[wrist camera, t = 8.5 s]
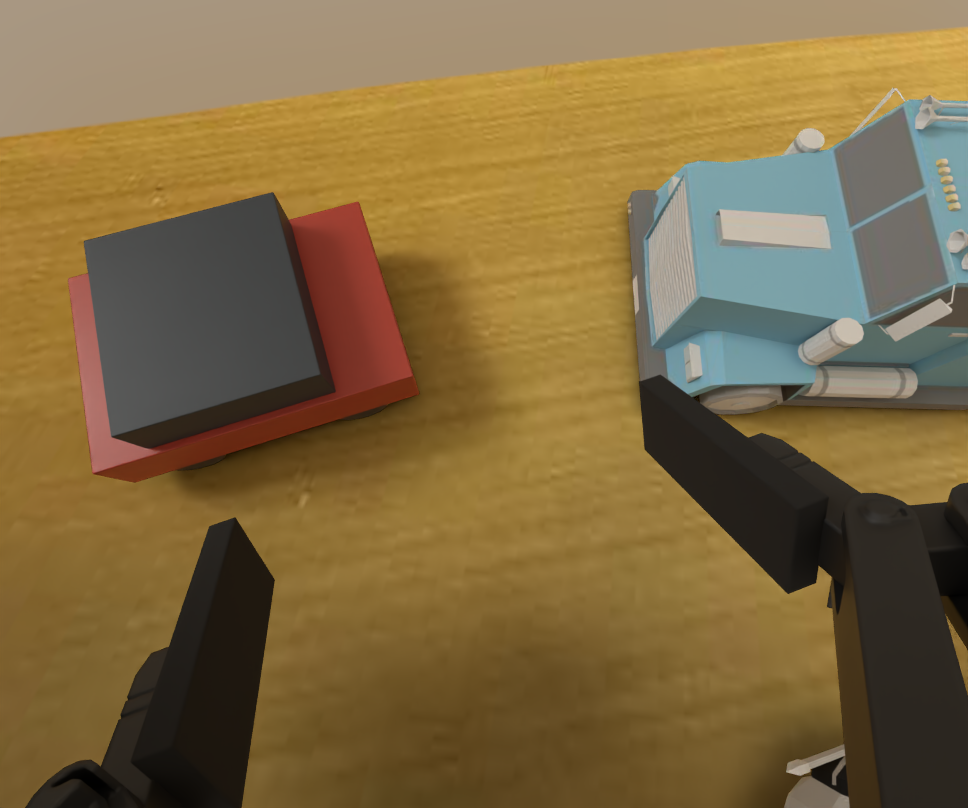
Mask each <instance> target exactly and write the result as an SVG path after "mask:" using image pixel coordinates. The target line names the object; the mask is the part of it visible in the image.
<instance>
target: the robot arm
mask: <svg viewBox="0 0 968 808" xmlns="http://www.w3.org/2000/svg"><path fill="white" fill-rule="evenodd" d="M639 386H640V399H641V411H642V423H643V435H644V447H645V450H646V451H647V452H648V453H649V454H650V455H651V456H652V457H653V458H654V459H655V460H656V461H657V462H658V463H659V464H660V465H661V466H662V467H663V468H664V469H665V470H666V471H667V472H668V473H669V474H670V475H671V476H672V477H673V478H674V479H675V480H676V482H677V483H678V484H679V485H680V486H681V487H682V488H683V489H684V490H685V491H686V492H687V493H688V494H689V495H690V496H691V497H692V498H693V499H694V500H695V501H696V502H697V503H698V504H699V505H700V506H701V507H702V508H703V509H704V510H705V511H706V512H707V513H708V514H709V515H710V516H711V517H712V518H713V519H714V520H715V521H716V522H717V523H718V524H719V525H720V526H721V527H722V528H723V529H724V530H725V531H726V532H727V533H728V534H729V535H730V536H731V537H732V538H733V539H734V540H735V541H736V542H737V543H738V544H739V545H740V546H741V547H742V548H743V549H744V550H745V551H746V552H747V553H748V554H749V555H750V556H751V557H752V558H753V559H754V560H755V561H756V562H757V563H758V564H759V565H760V566H761V567H762V568H763V569H764V570H765V571H766V572H767V573H768V574H769V575H770V576H771V577H772V578H773V579H774V580H775V581H776V582H777V583H778V584H779V585H780V586H781V587H782V588H783V590H784V591H785V592H786V593H787V594H789V593H792V592H794V591H797V590H799V589H802V588H804V587H807V586H809V585H812V584H814V583H816V580H817V573H818V566H820V567H821V568H822V569H824V570H825V571H826V572H827V573H828V574H829V575H830V576H832V580H831V586H830V592H829V598H828V604H827V607H829V608H832V609H833V621H834V632H835V644H836V655H837V667H838V679H839V690H840V702H841V713H842V725H843V737H844V748H845V760H846V771H847V783H848V795H849V806H850V808H968V695H967V691H966V688H965V684H964V680H963V677H962V673H961V670H960V666H959V662H958V659H957V655H956V651H955V648H954V644H953V641H952V637H951V633H950V630H949V626H948V623H947V619H946V615H947V617H948V619H949V620H950V622H951V624H952V625H953V627H954V628H955V630H956V632H957V633H958V635H959V637H960V638H961V640H962V641H963V643H964V645H965V646H966V648H967V650H968V483H964V484H959V485H958V486H956V487H954V488H952V490H951V493H950V495H949V499H948V502H944V503H932V504H921V505H907V504H906V503H904V502H903V501H901V500H898V499H896V498H894V497H891V496H888V495H883V494H878V493H860V492H858V491H857V490H855V489H854V488H852V487H851V486H849V485H848V484H846V483H845V482H843V481H842V480H840V479H839V478H838V477H836V476H835V475H833V474H832V473H830V472H829V471H827V470H826V469H824V468H823V467H821V466H820V465H818V464H817V463H815V462H814V461H813V462H811V460H810V459H809V458H808V457H806V456H805V455H803V454H802V453H798V450H796V449H795V448H793V447H792V446H790V445H789V444H787V443H786V442H784V441H783V440H781V439H778V438H775V437H772V436H769V435H766V434H763V433H760V434H757V435H755V436H752V437H749V438H747V437H746V436H745V435H743V434H742V433H741V432H739V431H738V430H736V429H735V428H734V427H732V426H731V425H730V424H728V423H727V422H725V421H724V420H723V419H721V418H720V417H719V416H717V415H716V414H714V413H713V412H712V411H710V410H709V409H708V408H706V407H705V406H703V405H702V404H701V403H699V402H698V401H697V400H695V399H694V398H692V397H691V396H690V395H688V394H687V393H686V392H684V391H683V390H681V389H680V388H679V387H677V386H676V385H674V384H673V383H672V382H670V381H669V380H668V379H666V378H665V377H663V376H662V375H661V374H660V375H657V376H654V377H651V378H648V379H645V380H642V381H639ZM274 581H275V580H274V578H273V576H272V575H271V573H270V572H269V570H268V568H267V567H266V565H265V564H264V562H263V561H262V559H261V557H260V556H259V554H258V553H257V551H256V549H255V548H254V546H253V545H252V543H251V542H250V540H249V538H248V537H247V535H246V534H245V532H244V530H243V529H242V527H241V526H240V524H239V523H238V521H237V519H236V518H232V519H229V520H226V521H223V522H220V523H218V524H215V525H212V526H209V529H208V532H207V535H206V538H205V541H204V544H203V547H202V550H201V553H200V556H199V559H198V562H197V565H196V568H195V571H194V574H193V577H192V580H191V583H190V586H189V588H188V591H187V594H186V597H185V600H184V603H183V606H182V609H181V612H180V615H179V618H178V621H177V624H176V627H175V630H174V633H173V636H172V639H171V642H170V645H169V647H167V648H164V649H162V650H159V651H156V652H153V653H151V654H150V656H149V657H148V659H147V660H146V661H145V663H144V664H143V666H142V667H141V668H140V670H139V671H138V673H137V674H136V676H135V678H134V681H133V683H132V686H131V689H130V691H129V694H128V697H127V698H128V701H126V702H125V704H124V707H123V710H122V712H121V719H120V720H118V723H117V725H116V728H115V731H114V733H113V736H112V739H111V741H110V744H109V747H108V749H107V752H106V754H105V757H104V760H103V762H102V765H101V766H99V765H98V764H97V763H95V762H93V761H92V760H83V761H77V762H75V763H73V764H71V765H69V766H67V767H65V768H63V769H62V770H60V771H59V772H58V773H56V774H55V775H54V776H53V777H51V778H50V779H49V780H48V781H47V782H46V783H45V784H44V785H43V786H42V787H41V788H40V789H39V790H38V791H37V792H36V793H35V794H34V795H33V797H32V798H31V800H30V801H29V803H28V804H27V806H26V807H25V808H241V807H242V800H243V793H244V786H245V779H246V773H247V766H248V759H249V752H250V745H251V738H252V732H253V725H254V718H255V711H256V704H257V698H258V691H259V684H260V677H261V670H262V663H263V657H264V650H265V643H266V636H267V629H268V622H269V616H270V609H271V602H272V595H273V588H274ZM945 614H946V615H945Z"/></svg>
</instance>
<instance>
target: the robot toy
mask: <svg viewBox="0 0 968 808" xmlns="http://www.w3.org/2000/svg"><path fill="white" fill-rule="evenodd" d="M810 769H812V776H808V777H803V778H801V779H800V780H799V782H798V783H797V784H796V785H795V786H794V788H793V789H792V790H791V791H790V792H789V794H788V796H787V800H786V803H785V806H784V808H850V806H849V795H848V783H847V771H846V760H845V748H844V744H843V745H840V746H838V747H835V748H832V749H830V750H827V751H824V752H822V753H819V754H816V755H814V756H811V757H808V758H806V759H803V760H799V759H797V760H794V761H791V762H788V764H787V770H786V772H788V773H792V774H796V775H800V776H801V775H803V774H806V773H808V772H810Z"/></svg>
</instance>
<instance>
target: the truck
mask: <svg viewBox="0 0 968 808" xmlns="http://www.w3.org/2000/svg"><path fill="white" fill-rule="evenodd" d="M895 90H897V92H898V93H899V95H900V96H901V97H902V99H903V100H904V103H903V104H901V105H899V106H898V107H896V108H895V109H893V110H891V111H890V112H888V113H887V114H885V115H883V116H882V117H880V118H878V119H877V120H875V121H874V122H872V123H870V124H869V125H867V126H866V127H864V128H862V127H863V126H864V125H865V124H866V122H867V121H868V120H869V119H870V118H871V117H872V116H873V115H874V114H875V113H876V112H877V111H878V110H879V109H880V107H881V106H882V105H883V104H884V103H885V102H886V101H887V100H888V99H889V98H890V96H891V95H892V94H893V93H894V91H895ZM861 128H862V129H861ZM860 129H861V130H860ZM823 144H824V136H823V135H822V134H821V132H819V131H818V130H816V129H813V128H806V129H804V130H802V131H801V132H800V133H799V134H798V136H797V137H796V138H795V140H794V141H793V142H792V143H791V145H790V146H789V147H788V148H787V150H786V151H785V152H784V154H783V155H782V156H775V157H767V158H760V159H752V160H744V161H736V162H728V163H724V162H710V161H696V162H692V163H688V164H686V165H684V166H683V167H682V168H681V169H680V170H679V171H678V172H677V173H676V174H675V175H674V176H672V178H670V179H669V180H668V181H667V182H666V183H665V184H664V185H663V186H662V187H661V188H660V189H659V190H657V191H656V190H637V191H634V192H632V193H631V195H630V198H629V200H628V202H627V203H628V218H629V233H630V248H631V263H632V278H633V293H634V308H635V322H636V336H637V350H638V364H639V378H640V381H642V380H645V379H648V378H651V377H654V376H657V375H660V374H661V375H662V376H663V377H665V378H666V379H668V380H669V381H670V382H672V383H673V384H674V385H676V386H677V387H679V388H680V389H681V390H683V391H684V392H686V393H687V394H688V395H690V396H691V397H694V396H697V395H699V398H700V403H701V404H702V405H703V406H705V407H706V408H708V409H709V410H710V411H712V412H713V413H716V414H744V413H753V412H758V411H762V410H766V409H770V408H772V407H774V406H776V405H797V406H834V407H872V408H909V409H947V410H966V409H968V101H942V100H937V99H935V98H934V97H932V96H931V95H929V96H927V97H926V98H924V99H923V100H910V99H909V100H908V101H905V99H904V98H903V96H902V95H901V94H900V92H899V91H898V89H897V88H896V89H894V88H892V89H891V91H890V92H889V93H888V94H887V95H886V96H885V97H884V98H883V99H882V101H881V102H880V103H879V104H878V105H877V106H876V107H875V108H874V109H873V111H872V112H871V113H870V114H869V115H868V116H867V117H866V118H865V119H864V121H863V122H862V123H861V124H860V125H859V126H858V127H857V128H856V129H855V130H854V132H853V133H852V134H851V135H850V136H849V137H848V138H846V139H844V140H843V141H841V142H840V143H838V144H836V145H835V146H833V147H832V148H830V149H828V150H822V151H819V149H820V148H821V147H822V145H823Z"/></svg>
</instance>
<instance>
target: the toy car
mask: <svg viewBox="0 0 968 808" xmlns="http://www.w3.org/2000/svg"><path fill="white" fill-rule="evenodd" d="M84 247H85V254H86V261H87V268H88V273H87V274H83V275H79V276H76V277H72V278H69V279H68V284H69V292H70V299H71V307H72V315H73V323H74V331H75V339H76V347H77V355H78V363H79V370H80V378H81V386H82V394H83V402H84V410H85V418H86V426H87V434H88V442H89V449H90V457H91V465H92V473H93V474H96V475H101V476H105V477H110V478H115V479H120V480H125V481H130V482H138V481H141V480H145V479H148V478H151V477H154V476H157V475H161V474H164V473H167V472H170V471H174V470H192V469H198V468H202V467H206V466H209V465H212V464H215V463H217V462H219V461H221V460H222V459H224V458H225V455H226V454H228V453H232V452H235V451H238V450H241V449H244V448H248V447H251V446H254V445H257V444H261V443H264V442H267V441H270V440H273V439H277V438H280V437H283V436H286V435H290V434H293V433H296V432H299V431H302V430H306V429H309V428H312V427H315V426H319V425H322V424H325V423H328V422H331V421H335V420H338V419H343V420H353V419H359V418H364V417H367V416H370V415H373V414H375V413H377V412H379V411H381V410H383V409H384V408H385V407H386V406H387V405H388V404H389V403H393V402H396V401H399V400H402V399H406V398H409V397H412V396H415V395H418V394H419V390H418V387H417V384H416V381H415V377H414V374H413V371H412V368H411V365H410V362H409V358H408V355H407V352H406V349H405V346H404V343H403V339H402V336H401V333H400V330H399V327H398V324H397V320H396V317H395V314H394V311H393V308H392V304H391V301H390V298H389V295H388V292H387V289H386V285H385V282H384V279H383V276H382V273H381V270H380V266H379V263H378V260H377V257H376V254H375V250H374V247H373V244H372V241H371V238H370V235H369V232H368V228H367V225H366V222H365V219H364V216H363V213H362V210H361V207H360V204H359V202H355V203H351V204H347V205H343V206H340V207H336V208H332V209H328V210H325V211H321V212H317V213H313V214H309V215H306V216H302V217H298V218H294V219H291V220H288V218H287V216H286V214H285V212H284V211H283V209H282V207H281V205H280V203H279V202H278V200H277V198H276V196H275V195H274V193H273V192H272V193H268V194H264V195H260V196H256V197H253V198H249V199H245V200H241V201H237V202H233V203H229V204H225V205H222V206H218V207H214V208H210V209H206V210H202V211H198V212H194V213H191V214H187V215H183V216H179V217H175V218H171V219H167V220H163V221H160V222H156V223H152V224H148V225H144V226H140V227H136V228H133V229H129V230H125V231H121V232H117V233H113V234H109V235H105V236H102V237H98V238H94V239H90V240H86V241H84Z"/></svg>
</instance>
